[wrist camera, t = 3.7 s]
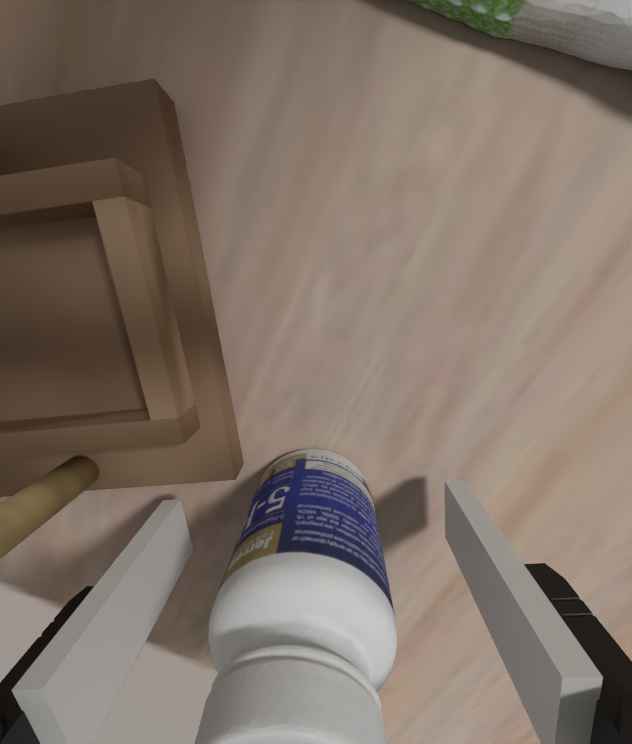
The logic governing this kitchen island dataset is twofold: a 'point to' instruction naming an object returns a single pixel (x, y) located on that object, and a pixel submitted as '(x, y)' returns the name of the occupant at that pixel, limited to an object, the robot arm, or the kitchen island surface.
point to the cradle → (103, 308)
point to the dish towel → (551, 24)
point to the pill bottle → (303, 613)
